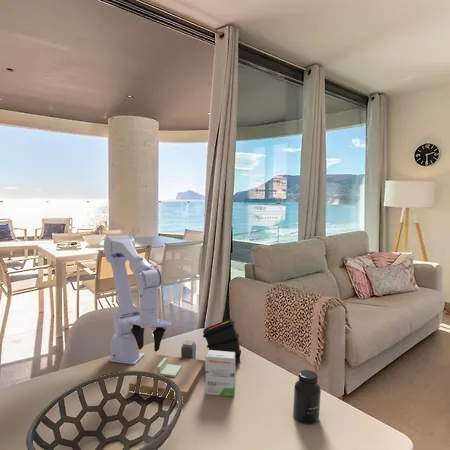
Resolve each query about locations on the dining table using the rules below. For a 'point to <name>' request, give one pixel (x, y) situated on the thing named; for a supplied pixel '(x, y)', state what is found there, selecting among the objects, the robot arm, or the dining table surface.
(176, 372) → the pale green notched block
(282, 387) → the dining table surface
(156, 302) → the robot arm
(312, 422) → the supplement bottle
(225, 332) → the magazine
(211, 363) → the ink box
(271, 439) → the dining table surface
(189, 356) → the plug
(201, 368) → the socket board
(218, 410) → the dining table surface
